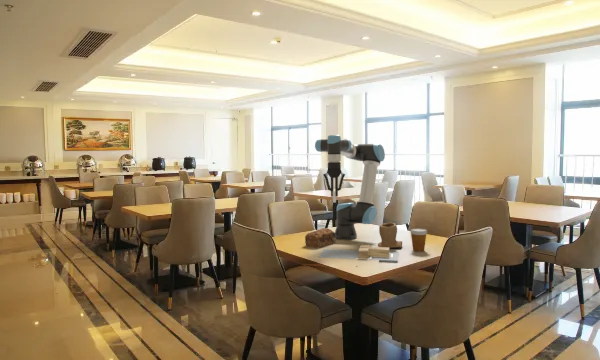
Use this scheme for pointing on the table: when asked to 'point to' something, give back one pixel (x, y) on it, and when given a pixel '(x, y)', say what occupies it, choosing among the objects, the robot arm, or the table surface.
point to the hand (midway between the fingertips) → (334, 202)
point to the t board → (356, 255)
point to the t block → (373, 251)
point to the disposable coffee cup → (418, 239)
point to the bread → (320, 238)
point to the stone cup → (389, 236)
